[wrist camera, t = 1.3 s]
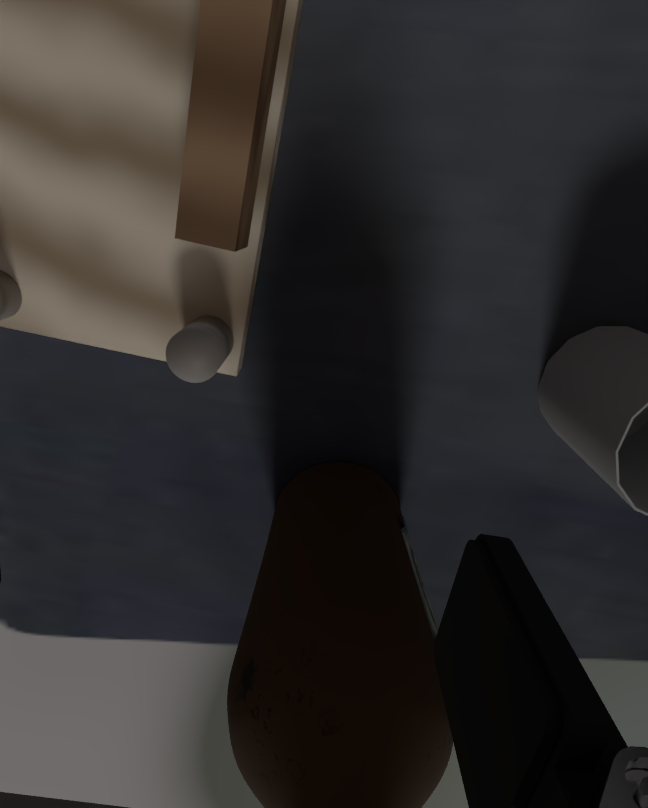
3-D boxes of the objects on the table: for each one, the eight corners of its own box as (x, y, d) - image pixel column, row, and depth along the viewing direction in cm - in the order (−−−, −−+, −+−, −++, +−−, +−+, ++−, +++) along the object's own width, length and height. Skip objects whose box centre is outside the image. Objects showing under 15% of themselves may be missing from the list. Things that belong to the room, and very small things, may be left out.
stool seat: (-25, -168, 25) (-131, -282, 19) (316, -76, 26) (311, -157, 20) (-15, 312, 33) (-87, 332, 27) (241, 367, 34) (223, 397, 28)
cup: (678, 325, 33) (817, 370, 23) (650, 441, 35) (764, 522, 26) (546, 326, 33) (632, 372, 23) (529, 441, 36) (600, 523, 26)
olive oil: (263, 566, 40) (166, 1071, 16) (271, 446, 36) (158, 876, 13) (397, 578, 40) (489, 1093, 17) (418, 459, 36) (576, 908, 13)
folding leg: (236, -107, 23) (218, -169, 19) (300, -90, 23) (294, -148, 20) (195, 235, 28) (174, 238, 25) (247, 247, 29) (234, 251, 25)
